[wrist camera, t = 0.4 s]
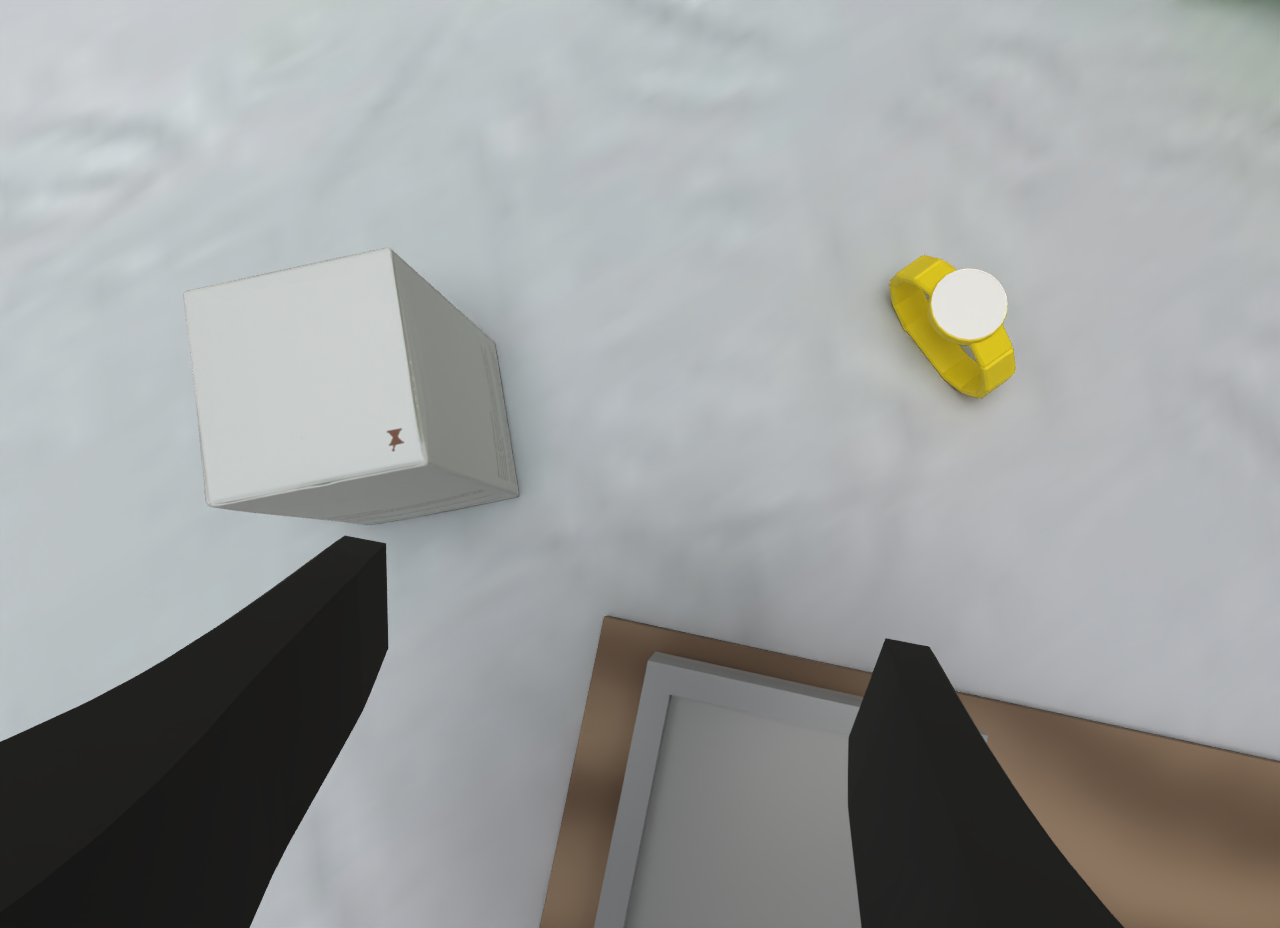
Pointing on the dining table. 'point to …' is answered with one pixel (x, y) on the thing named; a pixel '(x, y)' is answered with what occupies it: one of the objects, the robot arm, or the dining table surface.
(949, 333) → the watch
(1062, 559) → the dining table surface
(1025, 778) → the board
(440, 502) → the supplement box
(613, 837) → the tray
